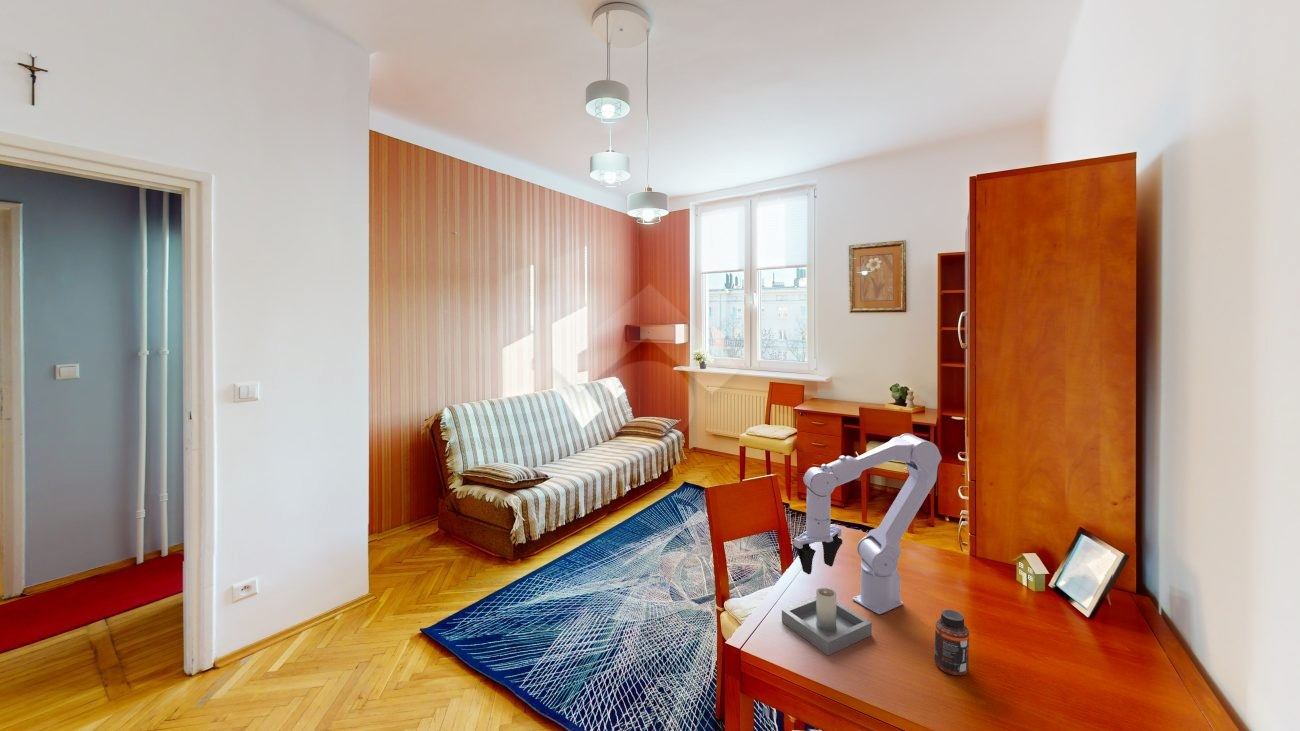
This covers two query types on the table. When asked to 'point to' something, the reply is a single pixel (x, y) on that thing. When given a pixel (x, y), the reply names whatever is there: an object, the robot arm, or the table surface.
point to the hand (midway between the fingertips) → (817, 568)
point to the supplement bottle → (951, 643)
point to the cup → (826, 609)
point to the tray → (829, 642)
